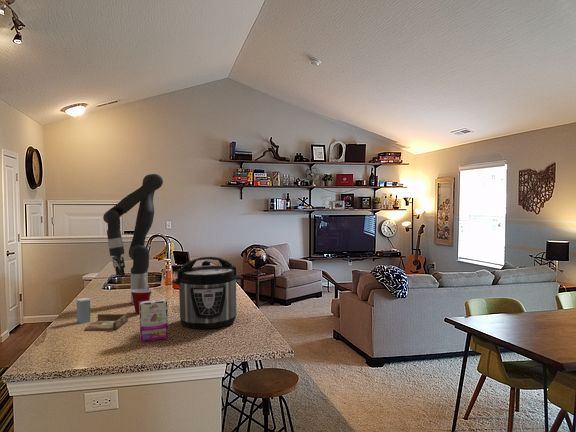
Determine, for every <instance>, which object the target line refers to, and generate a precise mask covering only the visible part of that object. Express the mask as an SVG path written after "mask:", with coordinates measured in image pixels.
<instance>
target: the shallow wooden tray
mask: <svg viewBox="0 0 576 432" xmlns="http://www.w3.org/2000/svg"><path fill="white" fill-rule="evenodd" d="M128 316H129V315H128V313H123V314H122V313H114V314H113V313H107V314H106V313H105V314H104V313H102V314H101V313H98V314H97V320H96V321H94V322H92V323H91V324H89V325H88V326H86V327H85V328H84V331H85V332H86V331H87V332H88V331H89V332H90V331H91V332H92V331H95V332H96V331H117V330H119V329H120V328H121V327H122V326H123V325H125V324H126V323H128V319H129V317H128Z"/></svg>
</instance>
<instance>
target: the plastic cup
mask: <svg viewBox="0 0 576 432" xmlns="http://www.w3.org/2000/svg"><path fill="white" fill-rule="evenodd" d="M152 292H153V290H152V289H149V290H148V289H137V290H131V289H130V294H131V293H132V297H133V302H134V304H133V308H134V312H135V314H137V315H139V302H140V301H150V300H151V299H150V298H151V295H152Z"/></svg>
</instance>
